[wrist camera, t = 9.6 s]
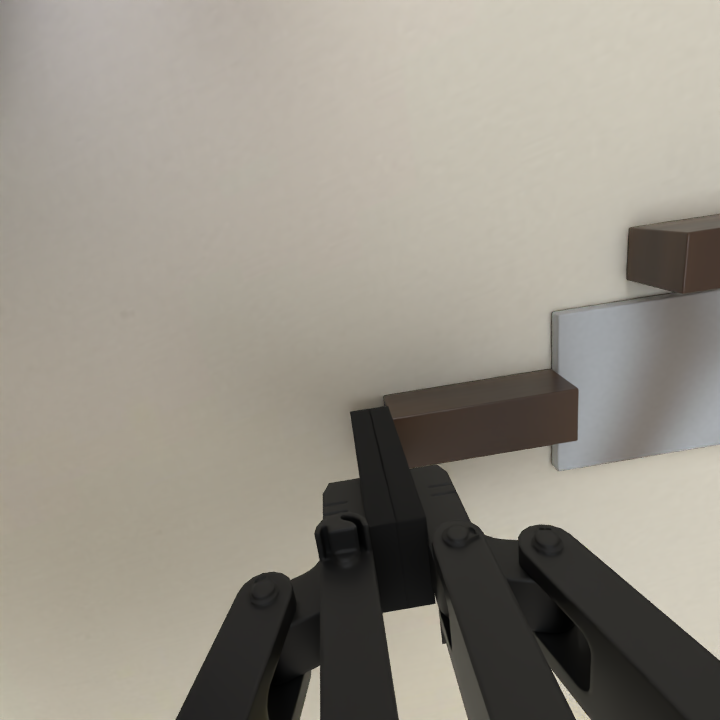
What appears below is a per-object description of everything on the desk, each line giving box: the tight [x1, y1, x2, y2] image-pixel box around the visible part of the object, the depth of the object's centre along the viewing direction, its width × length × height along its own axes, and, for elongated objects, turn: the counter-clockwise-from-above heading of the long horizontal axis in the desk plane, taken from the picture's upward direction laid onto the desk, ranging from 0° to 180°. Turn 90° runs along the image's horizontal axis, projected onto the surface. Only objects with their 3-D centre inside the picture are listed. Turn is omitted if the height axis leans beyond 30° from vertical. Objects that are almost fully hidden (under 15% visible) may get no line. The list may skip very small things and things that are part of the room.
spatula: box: [383, 288, 720, 471], centre depth 19 cm, size 15×7×2 cm, turn 98°
